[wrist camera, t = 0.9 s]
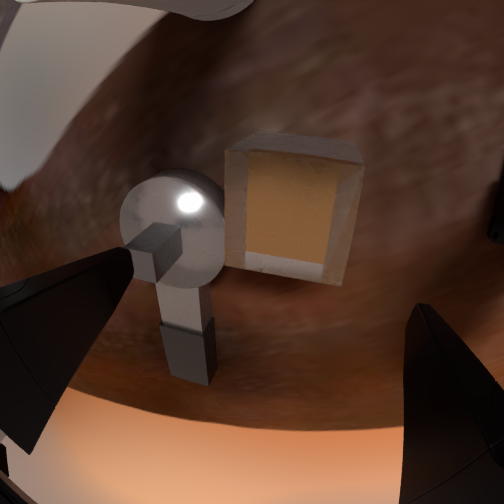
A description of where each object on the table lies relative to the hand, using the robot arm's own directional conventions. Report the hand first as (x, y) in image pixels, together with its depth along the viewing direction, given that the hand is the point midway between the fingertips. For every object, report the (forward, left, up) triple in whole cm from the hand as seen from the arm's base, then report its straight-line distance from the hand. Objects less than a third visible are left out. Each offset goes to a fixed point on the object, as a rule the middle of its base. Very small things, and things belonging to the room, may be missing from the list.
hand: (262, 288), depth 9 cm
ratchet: (+8, +10, -11) cm, 17 cm away
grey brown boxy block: (0, 0, -11) cm, 11 cm away
